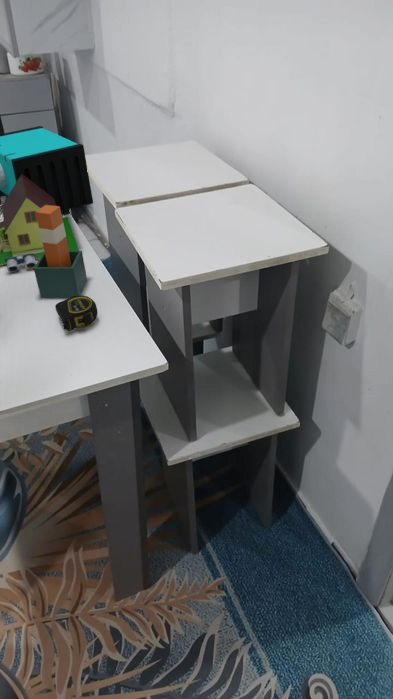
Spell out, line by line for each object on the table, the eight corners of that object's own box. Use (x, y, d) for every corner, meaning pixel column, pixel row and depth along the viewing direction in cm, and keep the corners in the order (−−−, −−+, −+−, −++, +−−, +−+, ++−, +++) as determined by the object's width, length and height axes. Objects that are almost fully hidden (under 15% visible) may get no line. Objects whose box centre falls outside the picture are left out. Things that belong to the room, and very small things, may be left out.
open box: (40, 298, 104) (33, 268, 100) (50, 279, 110) (44, 250, 106) (79, 298, 104) (73, 268, 100) (87, 279, 109) (81, 250, 105)
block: (52, 289, 106) (34, 212, 96) (62, 280, 108) (45, 204, 98) (66, 292, 105) (49, 214, 95) (75, 283, 107) (60, 206, 98)
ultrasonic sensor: (9, 275, 114) (6, 266, 111) (7, 266, 115) (4, 257, 111) (38, 269, 115) (35, 260, 112) (36, 260, 116) (33, 251, 113)
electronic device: (-35, 203, 144) (-52, 144, 135) (52, 180, 155) (41, 125, 146) (-1, 232, 127) (-19, 168, 118) (94, 205, 138) (84, 144, 129)
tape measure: (57, 316, 99) (52, 299, 97) (93, 307, 101) (90, 290, 99) (64, 336, 94) (60, 319, 92) (103, 326, 96) (100, 309, 94)
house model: (-7, 266, 114) (-24, 208, 107) (-9, 229, 130) (-24, 177, 122) (79, 251, 118) (69, 195, 111) (67, 217, 134) (57, 166, 126)
